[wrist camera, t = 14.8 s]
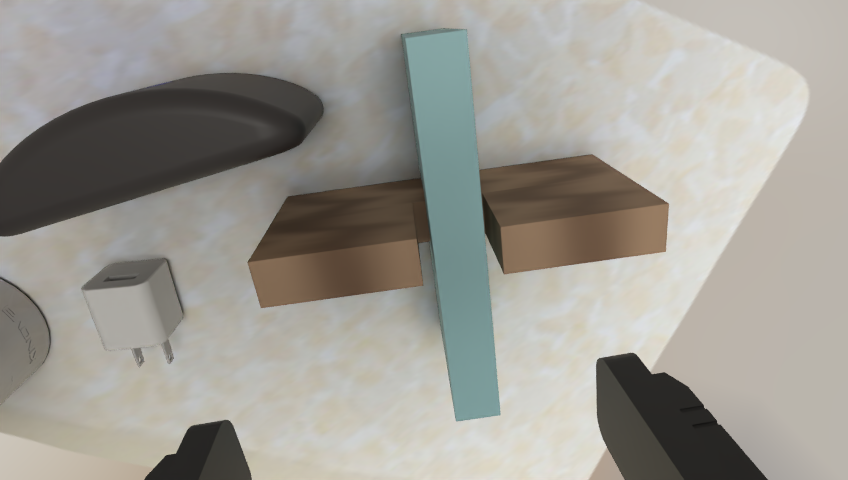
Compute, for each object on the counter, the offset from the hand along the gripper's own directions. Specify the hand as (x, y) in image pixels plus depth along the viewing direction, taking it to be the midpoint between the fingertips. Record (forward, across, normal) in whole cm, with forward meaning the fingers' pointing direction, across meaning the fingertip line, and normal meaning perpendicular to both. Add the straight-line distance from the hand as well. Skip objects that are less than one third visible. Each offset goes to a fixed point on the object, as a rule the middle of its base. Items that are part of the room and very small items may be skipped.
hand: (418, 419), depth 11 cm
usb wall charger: (+24, +18, +7) cm, 31 cm away
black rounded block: (+24, +12, -3) cm, 27 cm away
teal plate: (+23, -3, +2) cm, 24 cm away
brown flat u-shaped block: (+23, -3, +2) cm, 24 cm away
